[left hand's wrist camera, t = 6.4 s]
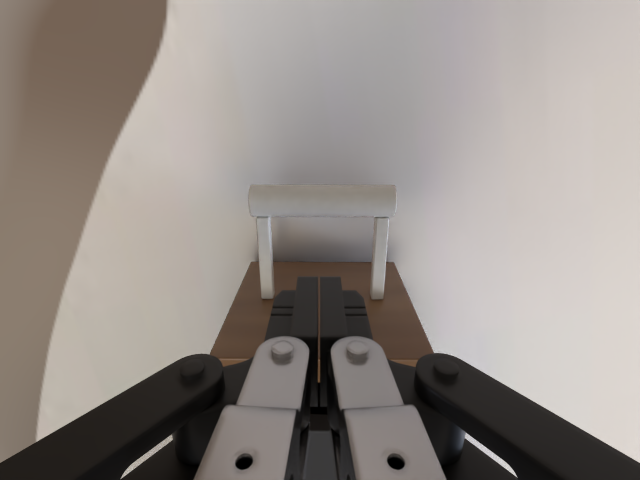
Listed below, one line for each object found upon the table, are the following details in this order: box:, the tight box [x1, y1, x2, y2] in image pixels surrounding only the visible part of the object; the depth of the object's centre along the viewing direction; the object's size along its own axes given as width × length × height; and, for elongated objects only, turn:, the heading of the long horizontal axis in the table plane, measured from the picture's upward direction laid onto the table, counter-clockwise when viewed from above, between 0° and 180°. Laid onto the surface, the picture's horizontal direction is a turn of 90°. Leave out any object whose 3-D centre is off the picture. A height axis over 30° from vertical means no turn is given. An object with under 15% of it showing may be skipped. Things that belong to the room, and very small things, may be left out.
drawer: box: [210, 185, 434, 415], centre depth 20 cm, size 24×9×9 cm, turn 0°
